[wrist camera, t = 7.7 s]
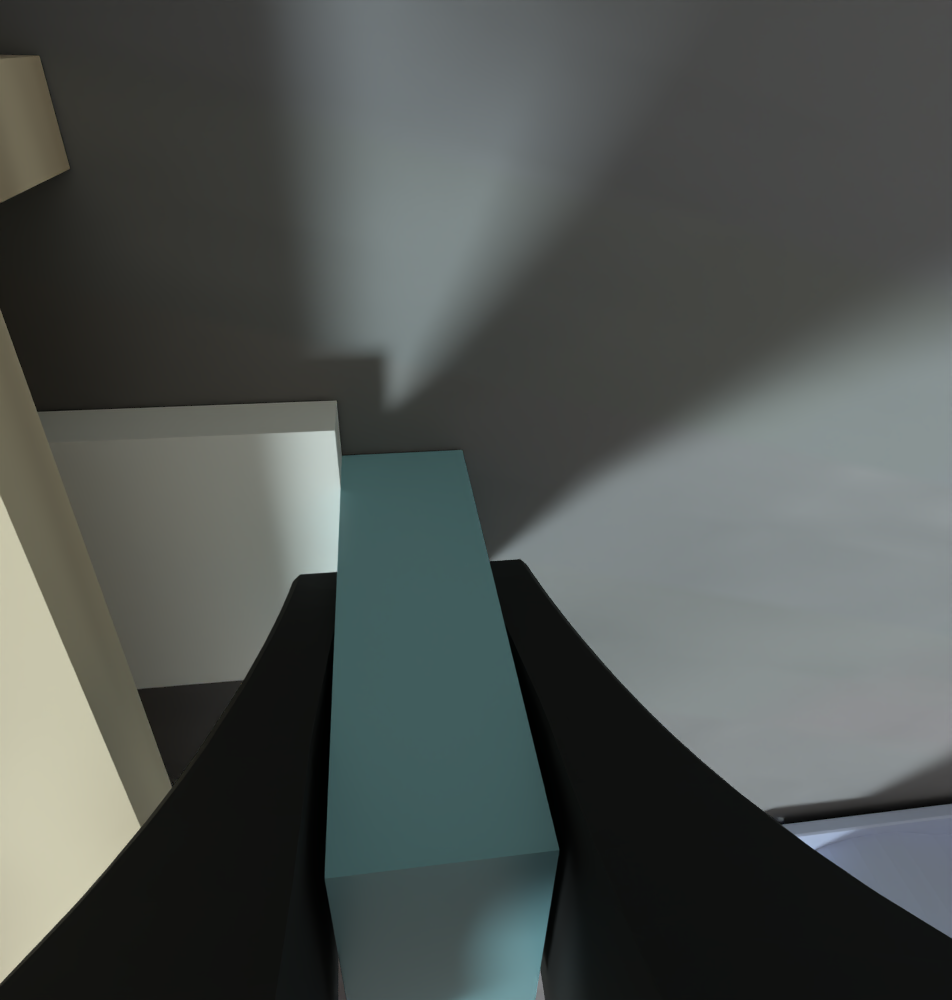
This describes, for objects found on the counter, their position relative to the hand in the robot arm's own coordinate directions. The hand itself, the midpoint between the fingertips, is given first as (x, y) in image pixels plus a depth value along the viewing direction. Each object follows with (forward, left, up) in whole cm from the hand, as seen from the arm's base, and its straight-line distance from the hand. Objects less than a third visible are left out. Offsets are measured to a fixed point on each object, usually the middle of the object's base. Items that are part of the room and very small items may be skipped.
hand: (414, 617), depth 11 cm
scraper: (+6, 0, -2) cm, 6 cm away
